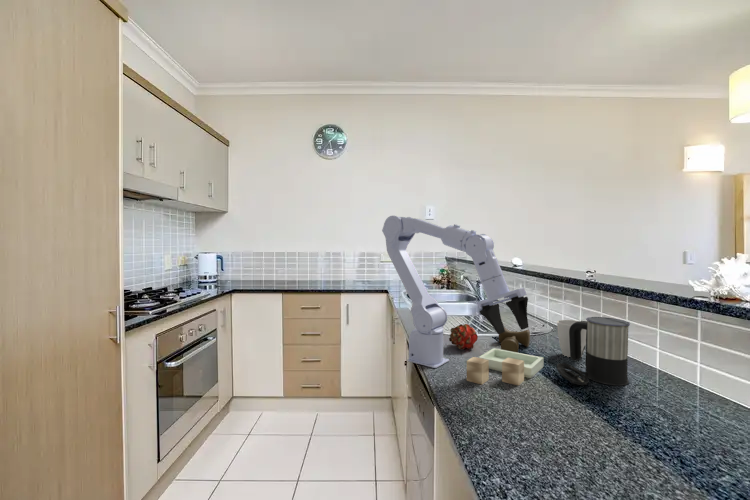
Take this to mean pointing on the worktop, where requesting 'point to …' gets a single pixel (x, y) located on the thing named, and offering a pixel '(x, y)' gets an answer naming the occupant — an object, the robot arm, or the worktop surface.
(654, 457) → the worktop surface
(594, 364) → the milk frother
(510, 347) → the kendama
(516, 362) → the maple block
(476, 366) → the maple block
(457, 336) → the dragon fruit
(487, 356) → the tray
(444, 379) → the worktop surface
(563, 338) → the cup
